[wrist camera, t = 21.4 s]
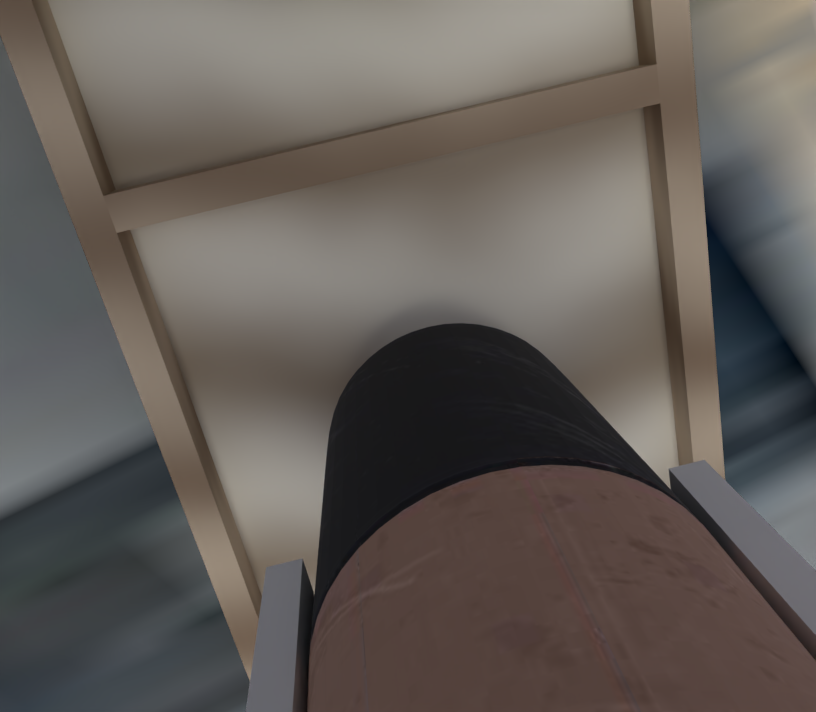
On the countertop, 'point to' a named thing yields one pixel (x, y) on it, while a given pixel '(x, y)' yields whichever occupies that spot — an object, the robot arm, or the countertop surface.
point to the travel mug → (520, 554)
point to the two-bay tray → (372, 222)
